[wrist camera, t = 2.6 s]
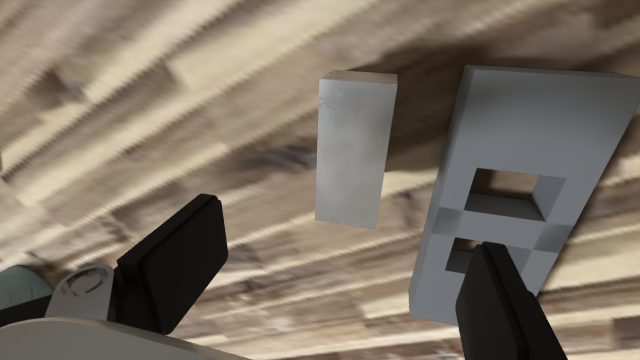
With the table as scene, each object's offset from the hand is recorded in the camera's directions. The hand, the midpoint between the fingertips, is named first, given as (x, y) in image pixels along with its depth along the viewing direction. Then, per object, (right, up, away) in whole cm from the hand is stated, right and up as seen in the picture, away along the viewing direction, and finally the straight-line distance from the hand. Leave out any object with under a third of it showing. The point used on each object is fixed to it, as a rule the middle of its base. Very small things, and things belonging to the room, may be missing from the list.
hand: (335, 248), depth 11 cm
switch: (+13, 0, +14) cm, 19 cm away
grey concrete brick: (+3, +7, +13) cm, 15 cm away
